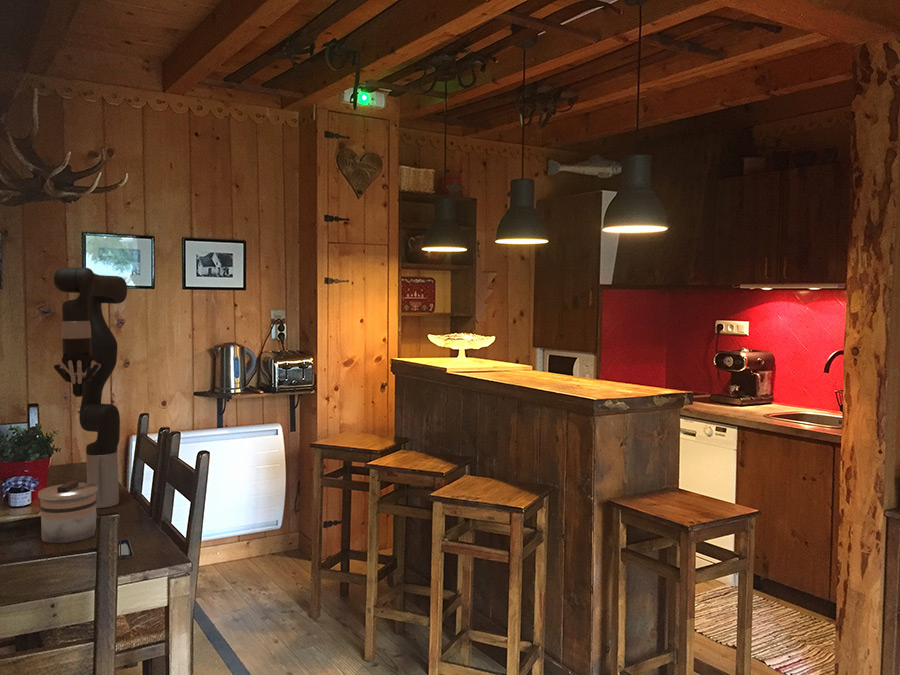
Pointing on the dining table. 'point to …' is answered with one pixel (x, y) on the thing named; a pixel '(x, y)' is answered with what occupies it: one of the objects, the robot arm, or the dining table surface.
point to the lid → (67, 491)
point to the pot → (68, 519)
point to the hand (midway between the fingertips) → (78, 396)
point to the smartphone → (125, 548)
